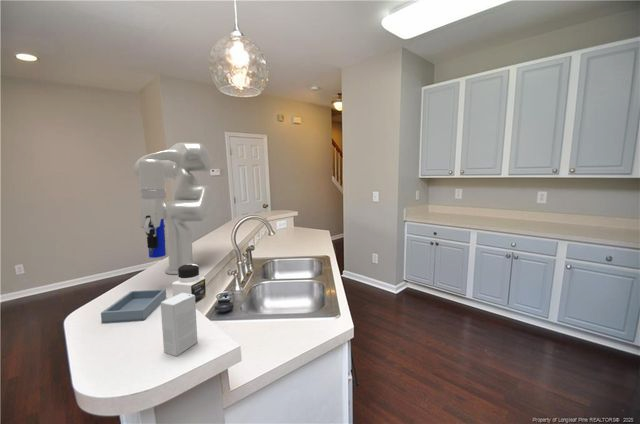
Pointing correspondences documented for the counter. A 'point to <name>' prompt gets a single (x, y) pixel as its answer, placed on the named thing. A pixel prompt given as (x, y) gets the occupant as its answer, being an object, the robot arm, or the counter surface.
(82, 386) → the counter surface
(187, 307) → the skincare box
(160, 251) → the beverage can
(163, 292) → the tray
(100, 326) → the counter surface
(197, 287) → the medicine bottle
